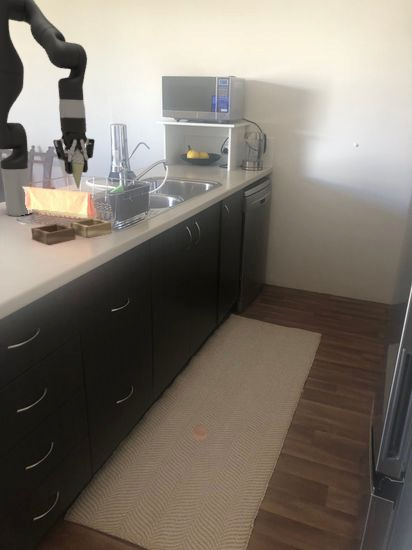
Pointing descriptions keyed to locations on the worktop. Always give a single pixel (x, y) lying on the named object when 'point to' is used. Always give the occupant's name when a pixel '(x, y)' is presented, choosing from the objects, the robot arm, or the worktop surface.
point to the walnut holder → (53, 233)
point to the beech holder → (91, 227)
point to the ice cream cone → (77, 166)
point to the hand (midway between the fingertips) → (76, 172)
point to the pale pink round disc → (200, 432)
